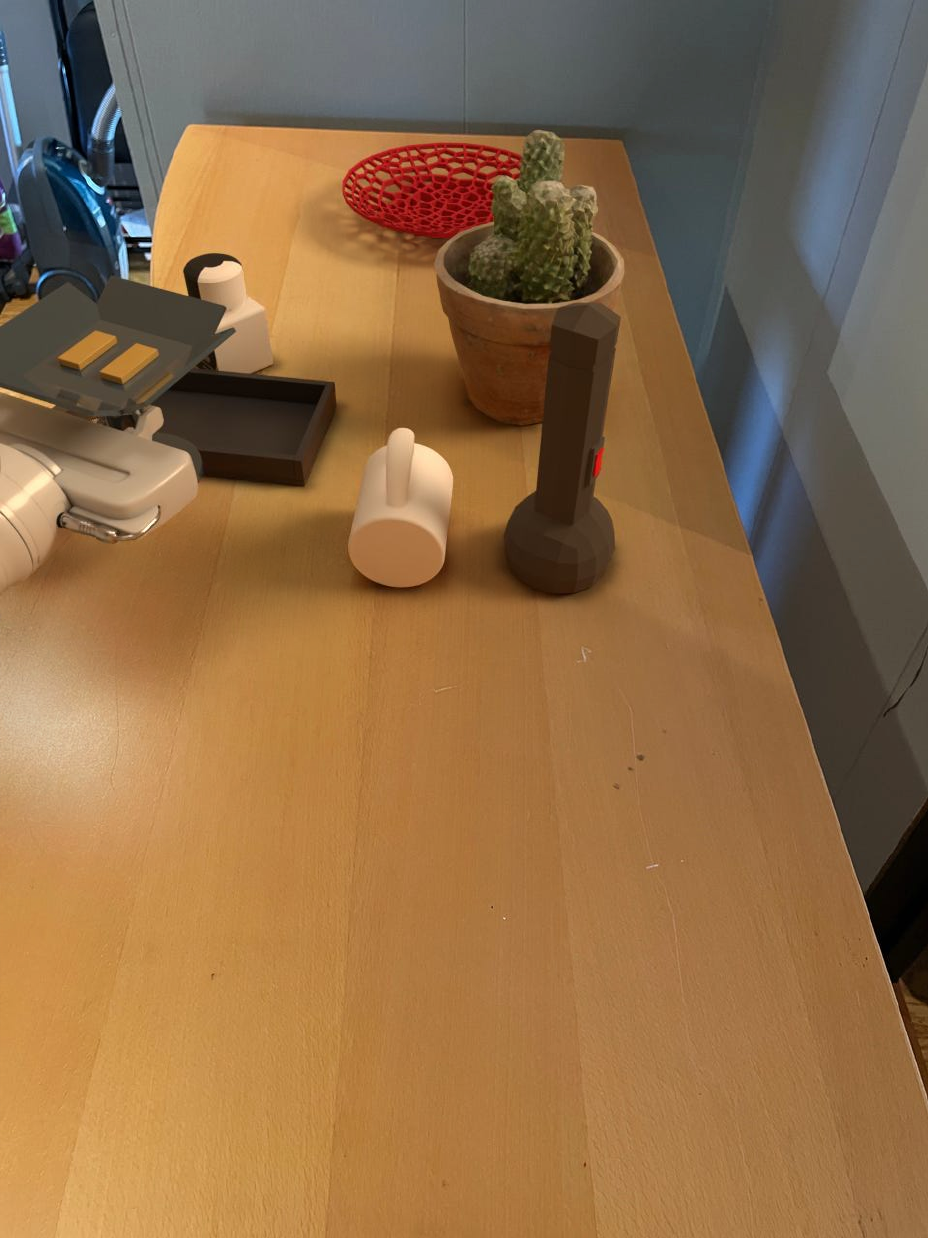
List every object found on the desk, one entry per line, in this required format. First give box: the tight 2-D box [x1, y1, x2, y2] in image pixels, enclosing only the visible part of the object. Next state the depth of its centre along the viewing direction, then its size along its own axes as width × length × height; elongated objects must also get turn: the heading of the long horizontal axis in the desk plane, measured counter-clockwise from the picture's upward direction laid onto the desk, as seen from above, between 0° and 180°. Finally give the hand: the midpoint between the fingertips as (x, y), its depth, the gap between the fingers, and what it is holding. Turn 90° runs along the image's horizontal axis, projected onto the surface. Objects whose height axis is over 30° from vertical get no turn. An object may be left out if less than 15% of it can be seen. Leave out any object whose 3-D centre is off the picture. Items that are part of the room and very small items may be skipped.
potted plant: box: [433, 129, 626, 427], centre depth 93 cm, size 18×19×25 cm
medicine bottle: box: [182, 252, 274, 374], centre depth 101 cm, size 7×7×12 cm
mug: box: [347, 427, 454, 588], centre depth 81 cm, size 8×10×12 cm
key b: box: [100, 343, 159, 384], centre depth 70 cm, size 4×2×1 cm, turn 156°
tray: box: [95, 367, 338, 487], centre depth 96 cm, size 22×14×3 cm, turn 82°
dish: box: [0, 274, 236, 484], centre depth 75 cm, size 16×16×13 cm
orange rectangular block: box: [58, 331, 117, 370], centre depth 72 cm, size 4×2×1 cm, turn 156°
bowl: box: [341, 141, 522, 239], centre depth 129 cm, size 29×30×5 cm
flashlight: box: [503, 303, 622, 595], centre depth 76 cm, size 10×25×10 cm
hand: (131, 404), depth 75 cm, fingers closed on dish, 3 cm apart
